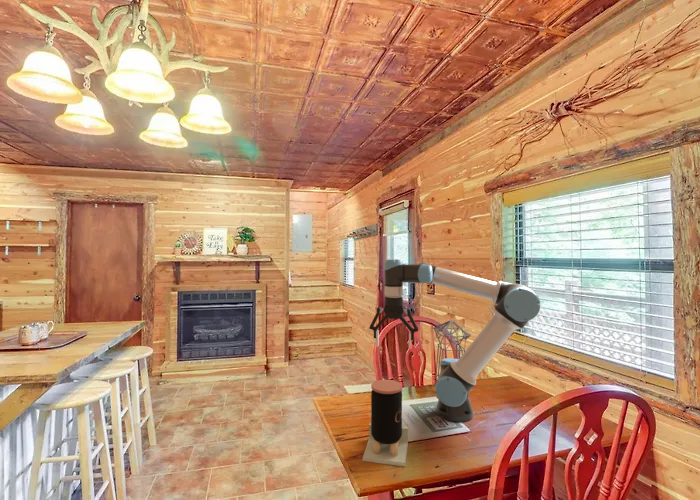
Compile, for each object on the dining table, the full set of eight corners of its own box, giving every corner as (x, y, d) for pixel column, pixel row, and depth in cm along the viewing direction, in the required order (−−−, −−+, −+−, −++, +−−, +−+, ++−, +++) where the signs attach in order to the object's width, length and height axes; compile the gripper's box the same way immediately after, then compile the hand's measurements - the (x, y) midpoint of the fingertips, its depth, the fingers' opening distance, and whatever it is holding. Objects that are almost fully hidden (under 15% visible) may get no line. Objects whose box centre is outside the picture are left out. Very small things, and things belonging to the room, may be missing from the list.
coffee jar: (401, 446, 116) (400, 392, 116) (369, 443, 119) (369, 390, 119) (402, 430, 127) (402, 380, 127) (373, 427, 129) (373, 378, 129)
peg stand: (407, 443, 128) (407, 426, 128) (405, 466, 114) (405, 448, 114) (369, 438, 131) (369, 422, 131) (362, 460, 117) (362, 442, 117)
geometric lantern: (460, 383, 185) (461, 317, 184) (471, 396, 170) (472, 324, 169) (430, 383, 185) (431, 317, 184) (438, 396, 169) (440, 324, 168)
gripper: (424, 296, 148) (424, 346, 148) (365, 294, 153) (365, 342, 153) (423, 298, 140) (424, 351, 141) (362, 296, 146) (362, 347, 146)
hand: (393, 347), depth 147 cm, fingers open, 13 cm apart
